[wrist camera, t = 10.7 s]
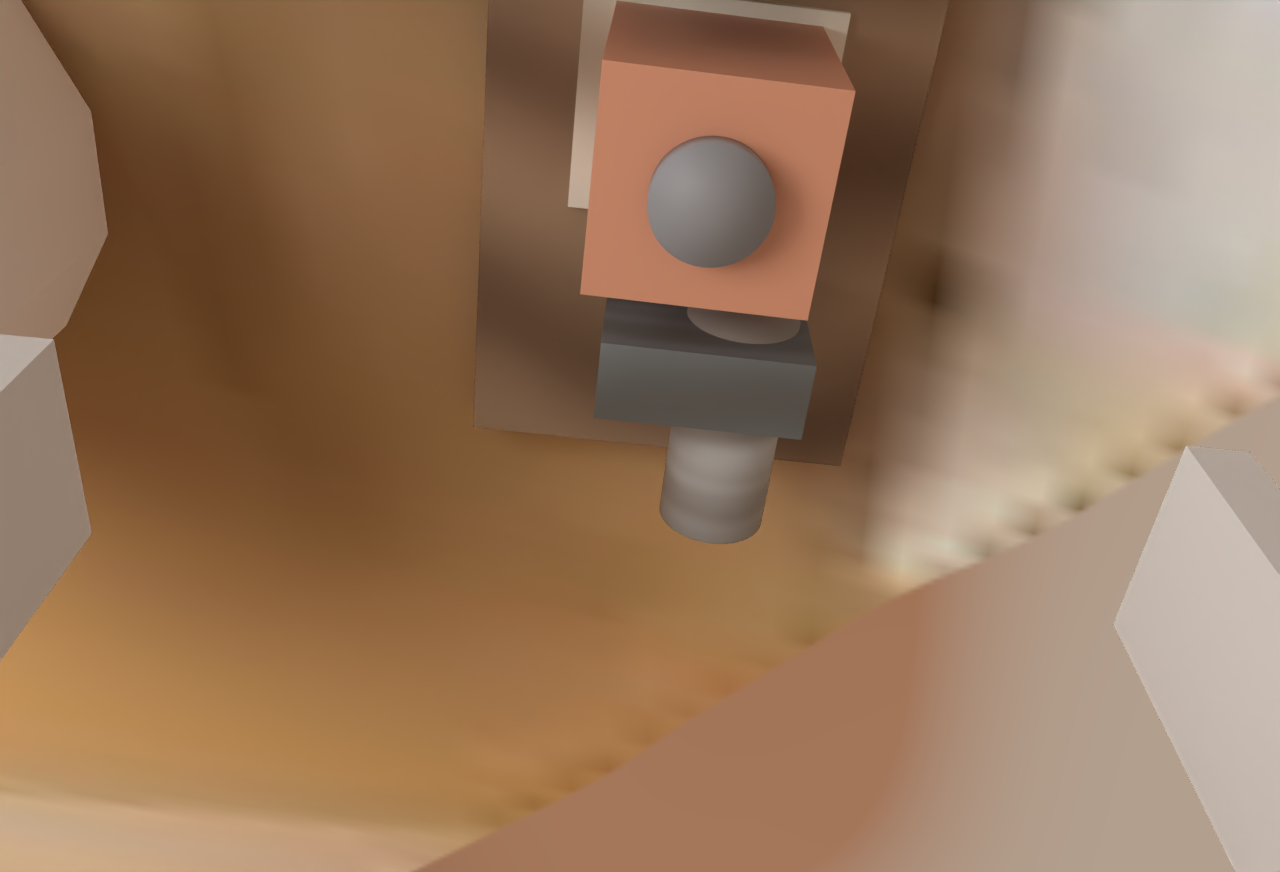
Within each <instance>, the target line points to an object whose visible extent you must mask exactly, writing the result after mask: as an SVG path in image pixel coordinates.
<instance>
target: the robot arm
mask: <svg viewBox="0 0 1280 872" xmlns="http://www.w3.org/2000/svg"><path fill="white" fill-rule="evenodd" d="M91 534H92V531H91V526H90V521H89V516H88V511H87V506H86V500H85V495H84V490H83V485H82V480H81V475H80V470H79V465H78V460H77V455H76V450H75V444H74V439H73V434H72V429H71V424H70V419H69V414H68V409H67V404H66V399H65V393H64V388H63V383H62V378H61V373H60V368H59V363H58V358H57V353H56V348H55V342H54V339H46V338H35V337H24V336H14V335H3V334H0V660H1V659H2V658H3V656H4V655H5V653H6V652H7V651H8V649H9V648H10V647H11V645H12V644H13V642H14V641H15V640H16V638H17V637H18V635H19V634H20V633H21V631H22V630H23V628H24V627H25V626H26V624H27V623H28V622H29V620H30V619H31V617H32V616H33V615H34V613H35V612H36V610H37V609H38V608H39V606H40V605H41V604H42V602H43V601H44V599H45V598H46V597H47V595H48V594H49V592H50V591H51V590H52V588H53V587H54V585H55V584H56V583H57V581H58V580H59V579H60V577H61V576H62V574H63V573H64V572H65V570H66V569H67V567H68V566H69V565H70V563H71V562H72V561H73V559H74V558H75V556H76V555H77V554H78V552H79V551H80V549H81V548H82V547H83V545H84V544H85V542H86V541H87V540H88V538H89V537H90V536H91ZM1113 625H1114V627H1115V629H1116V631H1117V633H1118V635H1119V637H1120V639H1121V642H1122V644H1123V645H1124V648H1125V650H1126V652H1127V654H1128V656H1129V658H1130V660H1131V662H1132V664H1133V666H1134V668H1135V670H1136V672H1137V674H1138V676H1139V678H1140V680H1141V682H1142V684H1143V686H1144V688H1145V690H1146V692H1147V694H1148V696H1149V698H1150V700H1151V702H1152V704H1153V706H1154V709H1155V711H1156V713H1157V714H1158V717H1159V719H1160V721H1161V723H1162V725H1163V727H1164V729H1165V731H1166V733H1167V735H1168V737H1169V739H1170V741H1171V743H1172V745H1173V747H1174V749H1175V751H1176V753H1177V755H1178V757H1179V759H1180V761H1181V763H1182V765H1183V767H1184V769H1185V771H1186V774H1187V776H1188V778H1189V780H1190V782H1191V784H1192V786H1193V788H1194V790H1195V792H1196V794H1197V796H1198V798H1199V800H1200V802H1201V804H1202V806H1203V808H1204V810H1205V812H1206V814H1207V816H1208V818H1209V820H1210V822H1211V824H1212V826H1213V828H1214V830H1215V832H1216V834H1217V836H1218V839H1219V840H1220V842H1221V845H1222V846H1223V849H1224V851H1225V853H1226V855H1227V857H1228V859H1229V861H1230V863H1231V865H1232V867H1233V869H1234V871H1235V872H1280V488H1279V487H1278V486H1277V484H1276V483H1275V482H1274V481H1273V479H1272V478H1271V477H1270V476H1269V474H1268V473H1267V472H1266V471H1265V469H1264V468H1263V467H1262V466H1261V464H1260V463H1259V462H1258V461H1257V459H1256V458H1255V457H1254V456H1253V454H1252V453H1251V452H1250V451H1239V450H1227V449H1217V448H1206V447H1196V446H1186V447H1185V450H1184V452H1183V455H1182V457H1181V460H1180V462H1179V464H1178V467H1177V470H1176V472H1175V474H1174V477H1173V479H1172V482H1171V484H1170V486H1169V489H1168V492H1167V494H1166V496H1165V499H1164V501H1163V504H1162V506H1161V508H1160V511H1159V513H1158V516H1157V519H1156V521H1155V523H1154V526H1153V528H1152V531H1151V533H1150V535H1149V538H1148V540H1147V543H1146V545H1145V548H1144V550H1143V552H1142V555H1141V558H1140V560H1139V562H1138V565H1137V567H1136V570H1135V572H1134V575H1133V577H1132V579H1131V582H1130V584H1129V587H1128V589H1127V592H1126V594H1125V597H1124V599H1123V601H1122V604H1121V607H1120V609H1119V611H1118V614H1117V616H1116V619H1115V621H1114V623H1113Z"/></svg>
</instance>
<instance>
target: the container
mask: <svg viewBox="0 0 1280 872" xmlns="http://www.w3.org/2000/svg"><path fill="white" fill-rule="evenodd" d="M107 235H108V230H107V222H106V215H105V208H104V201H103V193H102V186H101V179H100V171H99V164H98V157H97V150H96V142H95V135H94V128H93V121H92V113H91V110H90V109H89V107H88V106H87V104H86V102H85V101H84V99H83V98H82V96H81V94H80V93H79V91H78V90H77V88H76V87H75V85H74V83H73V82H72V80H71V79H70V77H69V75H68V74H67V72H66V71H65V69H64V68H63V66H62V64H61V63H60V61H59V60H58V58H57V56H56V55H55V53H54V52H53V50H52V48H51V47H50V45H49V44H48V42H47V41H46V39H45V37H44V36H43V34H42V33H41V31H40V29H39V28H38V26H37V25H36V23H35V21H34V20H33V18H32V17H31V15H30V14H29V12H28V10H27V9H26V7H25V6H24V4H23V2H22V1H21V0H0V334H3V335H14V336H24V337H35V338H46V339H53V338H54V337H55V336H56V335H57V334H58V333H59V332H60V331H61V330H62V329H63V328H64V327H65V326H66V325H67V323H68V321H69V319H70V317H71V314H72V312H73V310H74V308H75V306H76V303H77V301H78V299H79V297H80V295H81V292H82V290H83V288H84V286H85V284H86V281H87V279H88V277H89V275H90V273H91V270H92V268H93V266H94V264H95V262H96V259H97V257H98V255H99V253H100V251H101V248H102V246H103V244H104V242H105V240H106V237H107Z"/></svg>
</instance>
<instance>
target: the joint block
mask: <svg viewBox="0 0 1280 872" xmlns="http://www.w3.org/2000/svg"><path fill="white" fill-rule="evenodd" d="M855 92H856V91H855V89H854V87H853V85H852V83H851V81H850V79H849V77H848V75H847V73H846V71H845V69H844V67H843V65H842V63H841V61H840V59H839V57H838V55H837V53H836V51H835V49H834V47H833V45H832V43H831V41H830V39H829V37H828V35H827V33H826V31H825V29H824V27H823V26H815V25H807V24H799V23H791V22H784V21H776V20H768V19H760V18H752V17H744V16H736V15H728V14H720V13H712V12H704V11H696V10H688V9H680V8H672V7H664V6H656V5H648V4H640V3H632V2H624V1H617V2H616V6H615V10H614V14H613V18H612V22H611V26H610V30H609V34H608V38H607V42H606V46H605V50H604V55H603V59H602V67H601V78H600V88H599V99H598V110H597V120H596V131H595V142H594V152H593V163H592V173H591V184H590V195H589V205H588V216H587V227H586V237H585V248H584V258H583V269H582V280H581V290H580V294H583V295H591V296H600V297H609V298H617V299H626V300H634V301H643V302H651V303H660V304H668V305H677V306H686V307H694V308H703V309H711V310H720V311H728V312H737V313H746V314H754V315H763V316H771V317H780V318H788V319H797V320H806V321H808V317H809V312H810V307H811V302H812V297H813V293H814V288H815V283H816V278H817V274H818V269H819V264H820V259H821V255H822V250H823V245H824V240H825V235H826V231H827V226H828V221H829V216H830V212H831V207H832V202H833V197H834V192H835V188H836V183H837V178H838V173H839V169H840V164H841V159H842V154H843V149H844V145H845V140H846V135H847V130H848V126H849V121H850V116H851V111H852V106H853V102H854V97H855Z"/></svg>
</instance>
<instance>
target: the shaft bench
mask: <svg viewBox="0 0 1280 872" xmlns="http://www.w3.org/2000/svg"><path fill="white" fill-rule="evenodd" d="M617 1H624V2H632V3H640V4H648V5H656V6H664V7H672V8H680V9H688V10H696V11H704V12H712V13H720V14H728V15H736V16H744V17H752V18H760V19H768V20H776V21H784V22H791V23H799V24H807V25H815V26H823V27H824V29H825V31H826V33H827V35H828V37H829V39H830V41H831V43H832V45H833V47H834V49H835V51H836V53H837V55H838V57H839V59H840V61H841V63H842V65H843V67H844V69H845V71H846V73H847V75H848V77H849V79H850V81H851V83H852V85H853V87H854V89H855V91H856V92H855V97H854V102H853V106H852V111H851V116H850V121H849V126H848V130H847V135H846V140H845V145H844V149H843V154H842V159H841V164H840V169H839V173H838V178H837V183H836V188H835V192H834V197H833V202H832V207H831V212H830V216H829V221H828V226H827V231H826V235H825V240H824V245H823V250H822V255H821V259H820V264H819V269H818V274H817V278H816V283H815V288H814V293H813V297H812V302H811V307H810V312H809V317H808V321H806V320H797V319H788V318H780V317H771V316H763V315H754V314H746V313H737V312H728V311H720V310H711V309H703V308H694V307H686V306H677V305H668V304H660V303H651V302H643V301H634V300H626V299H617V298H609V297H600V296H591V295H583V294H580V290H581V280H582V269H583V258H584V248H585V237H586V227H587V216H588V205H589V195H590V184H591V173H592V163H593V152H594V142H595V131H596V120H597V110H598V99H599V88H600V78H601V67H602V59H603V55H604V50H605V46H606V42H607V38H608V34H609V30H610V26H611V22H612V18H613V14H614V10H615V6H616V2H617ZM948 5H949V0H489V1H488V29H487V57H486V84H485V112H484V140H483V168H482V196H481V224H480V252H479V280H478V307H477V335H476V363H475V391H474V419H473V427H477V428H486V429H496V430H505V431H515V432H524V433H533V434H543V435H552V436H562V437H571V438H580V439H590V440H599V441H609V442H618V443H627V444H637V445H646V446H656V447H665V448H668V451H667V458H666V465H665V472H664V480H663V487H662V494H661V501H660V513H661V516H662V518H663V520H664V521H665V522H666V524H667V525H668V526H669V527H671V528H672V529H673V530H675V531H676V532H678V533H679V534H681V535H683V536H685V537H688V538H690V539H693V540H696V541H700V542H705V543H712V544H728V543H735V542H739V541H743V540H745V539H747V538H749V537H751V536H752V535H754V534H755V533H756V532H757V531H758V529H759V527H760V525H761V521H762V516H763V511H764V506H765V501H766V496H767V490H768V485H769V480H770V475H771V470H772V465H773V460H774V459H778V460H787V461H797V462H806V463H815V464H825V465H834V466H840V464H841V460H842V456H843V452H844V447H845V443H846V439H847V435H848V430H849V426H850V422H851V418H852V413H853V409H854V405H855V401H856V396H857V392H858V388H859V384H860V379H861V375H862V371H863V367H864V362H865V358H866V354H867V349H868V345H869V341H870V337H871V332H872V328H873V324H874V320H875V315H876V311H877V307H878V303H879V298H880V294H881V290H882V286H883V281H884V277H885V273H886V269H887V264H888V260H889V256H890V252H891V247H892V243H893V239H894V235H895V230H896V226H897V222H898V217H899V213H900V209H901V205H902V200H903V196H904V192H905V188H906V183H907V179H908V175H909V171H910V166H911V162H912V158H913V154H914V149H915V145H916V141H917V137H918V132H919V128H920V124H921V120H922V115H923V111H924V107H925V102H926V98H927V94H928V90H929V85H930V81H931V77H932V73H933V68H934V64H935V60H936V56H937V51H938V47H939V43H940V39H941V34H942V30H943V26H944V22H945V17H946V13H947V9H948Z"/></svg>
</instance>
